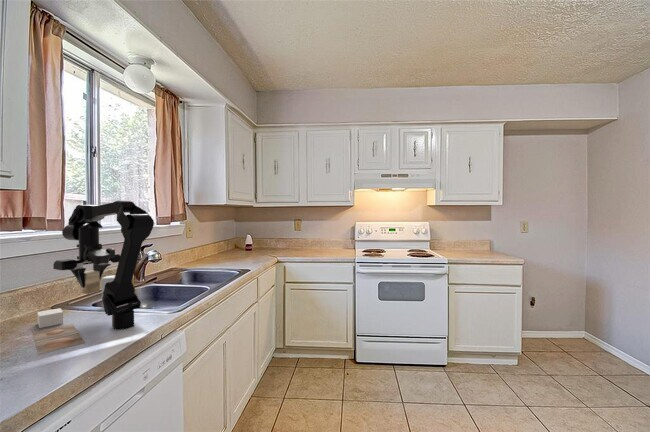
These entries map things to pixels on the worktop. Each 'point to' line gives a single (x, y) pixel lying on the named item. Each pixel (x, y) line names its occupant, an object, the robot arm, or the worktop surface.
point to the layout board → (57, 338)
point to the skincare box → (105, 280)
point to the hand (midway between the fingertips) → (90, 286)
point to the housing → (50, 318)
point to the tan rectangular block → (91, 282)
